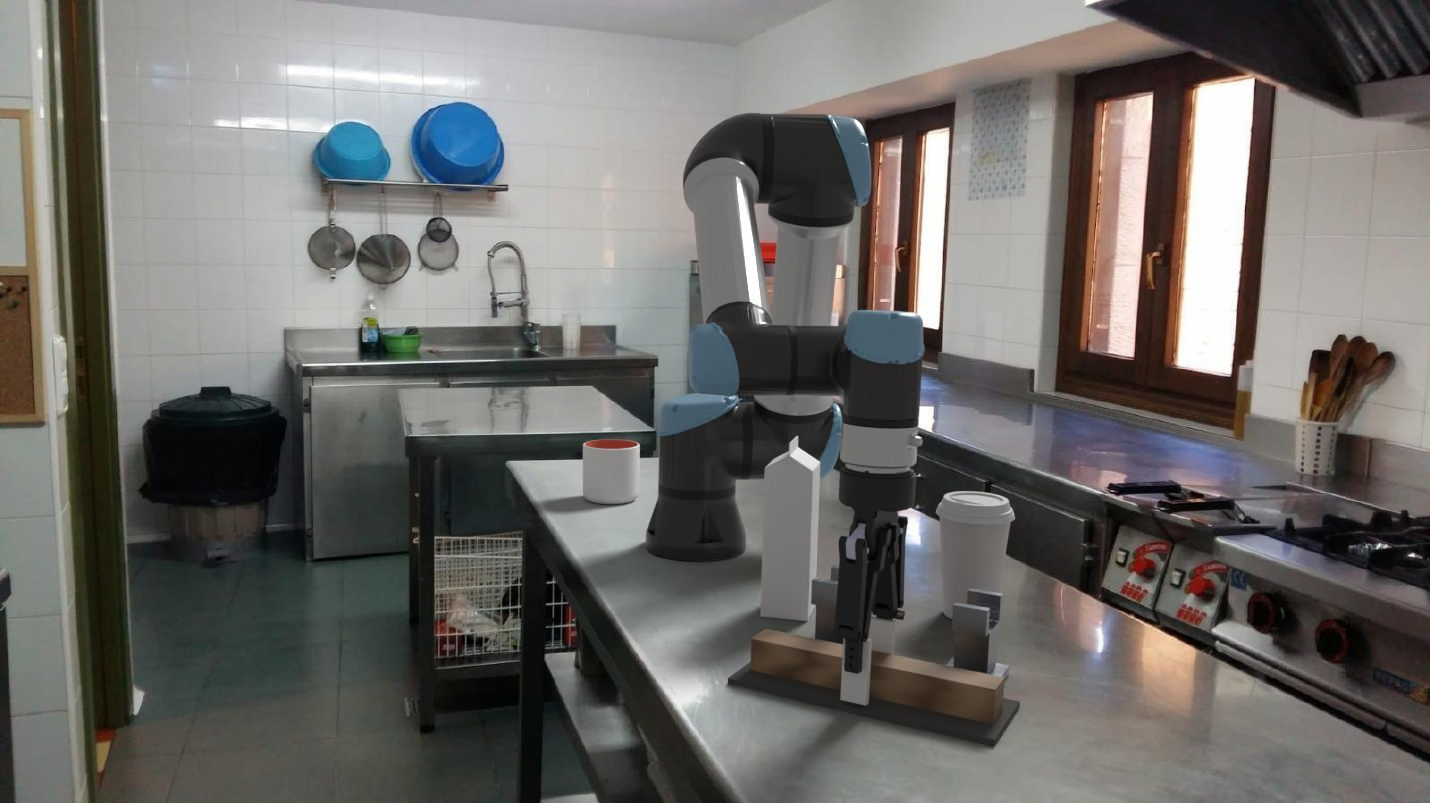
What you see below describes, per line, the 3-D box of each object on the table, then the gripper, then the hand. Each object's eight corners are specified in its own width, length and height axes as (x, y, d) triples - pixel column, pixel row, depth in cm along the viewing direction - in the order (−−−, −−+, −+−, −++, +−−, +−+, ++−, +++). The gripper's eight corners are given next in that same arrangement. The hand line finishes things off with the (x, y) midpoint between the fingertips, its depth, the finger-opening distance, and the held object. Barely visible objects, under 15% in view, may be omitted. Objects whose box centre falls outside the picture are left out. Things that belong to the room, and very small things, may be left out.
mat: (727, 683, 115) (727, 677, 115) (768, 652, 124) (769, 647, 124) (994, 745, 102) (994, 739, 102) (1019, 706, 111) (1019, 701, 110)
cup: (650, 498, 197) (650, 443, 195) (616, 508, 188) (616, 451, 187) (606, 490, 202) (606, 437, 201) (571, 500, 194) (571, 444, 192)
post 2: (937, 682, 116) (941, 602, 115) (955, 662, 122) (959, 586, 121) (994, 694, 113) (999, 612, 112) (1009, 673, 119) (1014, 595, 118)
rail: (750, 669, 117) (751, 638, 117) (764, 659, 120) (765, 628, 120) (993, 724, 105) (995, 689, 104) (1002, 711, 108) (1004, 677, 108)
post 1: (799, 653, 124) (801, 578, 122) (822, 635, 129) (824, 563, 128) (849, 663, 121) (852, 586, 120) (870, 645, 127) (873, 571, 125)
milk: (760, 617, 136) (763, 442, 132) (769, 601, 141) (773, 433, 138) (808, 622, 134) (813, 444, 131) (816, 606, 140) (821, 436, 137)
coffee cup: (916, 606, 140) (921, 492, 138) (977, 598, 144) (983, 487, 142) (960, 631, 132) (967, 510, 130) (1024, 622, 136) (1032, 504, 133)
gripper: (880, 485, 99) (868, 731, 101) (943, 457, 115) (931, 669, 118) (804, 475, 102) (794, 713, 105) (875, 450, 119) (865, 656, 122)
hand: (866, 689), depth 111 cm, fingers open, 6 cm apart
